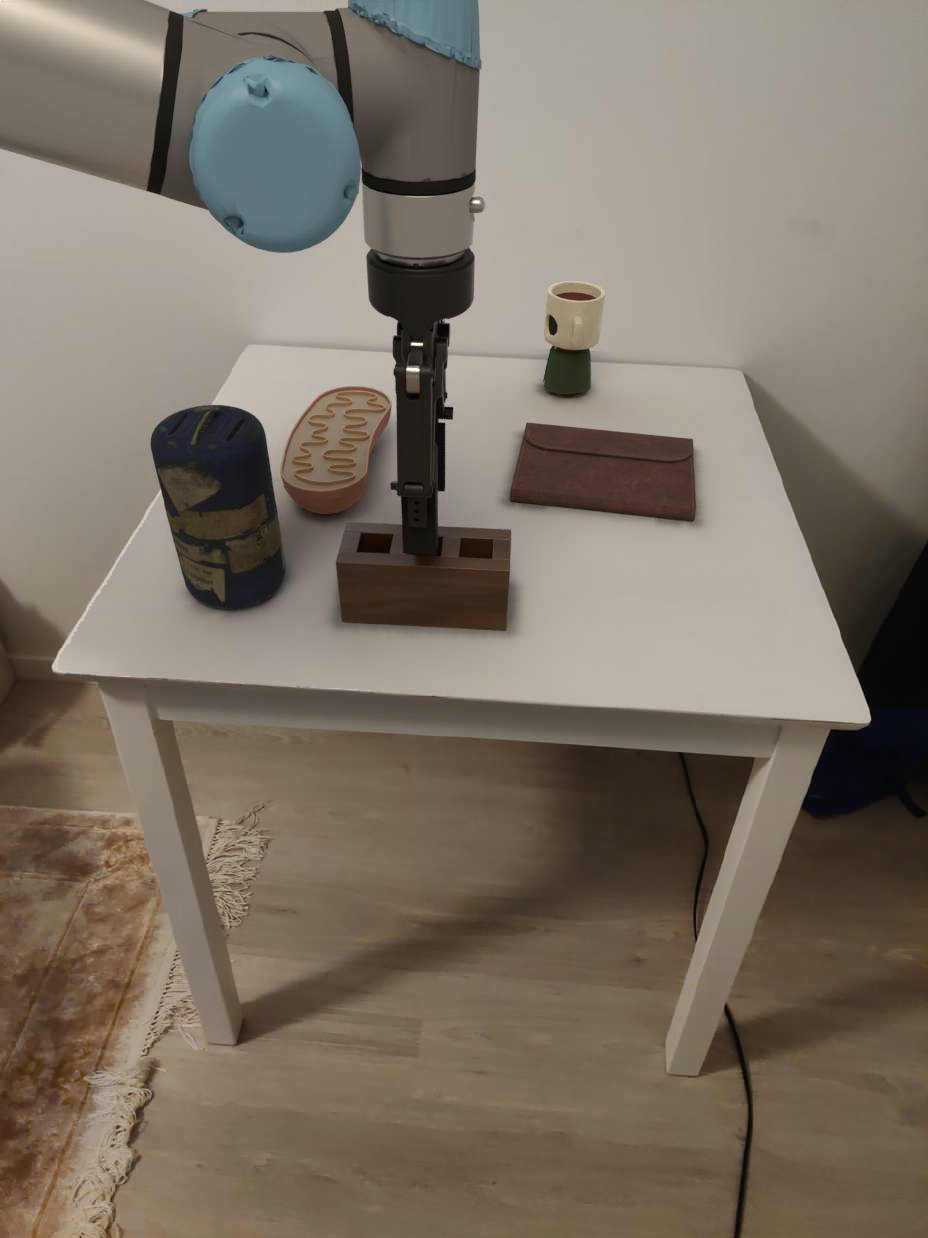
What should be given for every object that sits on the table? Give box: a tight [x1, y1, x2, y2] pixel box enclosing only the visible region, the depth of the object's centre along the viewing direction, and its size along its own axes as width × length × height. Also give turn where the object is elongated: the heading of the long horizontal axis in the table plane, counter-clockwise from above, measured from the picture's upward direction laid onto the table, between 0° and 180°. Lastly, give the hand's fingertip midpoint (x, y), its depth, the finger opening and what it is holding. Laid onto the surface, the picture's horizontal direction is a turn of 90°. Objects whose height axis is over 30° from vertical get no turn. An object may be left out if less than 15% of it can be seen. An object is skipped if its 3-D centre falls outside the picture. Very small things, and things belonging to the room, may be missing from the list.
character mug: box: [542, 280, 606, 395], centre depth 109 cm, size 11×7×13 cm, turn 0°
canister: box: [150, 404, 286, 610], centre depth 76 cm, size 10×10×18 cm
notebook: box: [509, 421, 697, 522], centre depth 97 cm, size 15×20×2 cm
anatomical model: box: [279, 385, 392, 515], centre depth 96 cm, size 23×10×5 cm, turn 174°
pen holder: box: [335, 521, 512, 632], centre depth 78 cm, size 6×15×7 cm, turn 87°
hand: (425, 518), depth 74 cm, fingers open, 9 cm apart
